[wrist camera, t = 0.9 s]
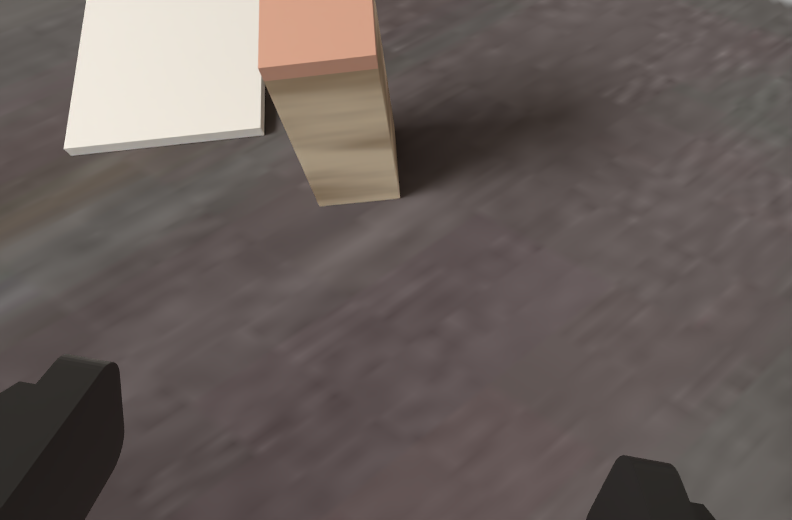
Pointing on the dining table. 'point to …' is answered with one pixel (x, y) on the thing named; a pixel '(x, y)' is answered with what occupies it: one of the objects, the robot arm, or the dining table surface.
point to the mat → (165, 75)
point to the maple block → (332, 95)
